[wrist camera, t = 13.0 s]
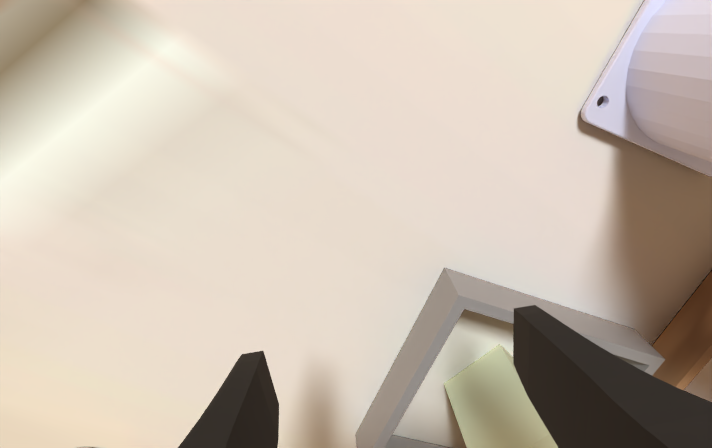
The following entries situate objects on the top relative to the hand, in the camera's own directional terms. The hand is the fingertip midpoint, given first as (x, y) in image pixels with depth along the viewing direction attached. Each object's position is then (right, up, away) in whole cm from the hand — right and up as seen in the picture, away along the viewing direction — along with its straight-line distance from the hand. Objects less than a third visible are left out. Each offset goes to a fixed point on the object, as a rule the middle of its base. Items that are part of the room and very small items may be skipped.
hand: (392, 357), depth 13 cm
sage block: (+7, -6, +14) cm, 16 cm away
